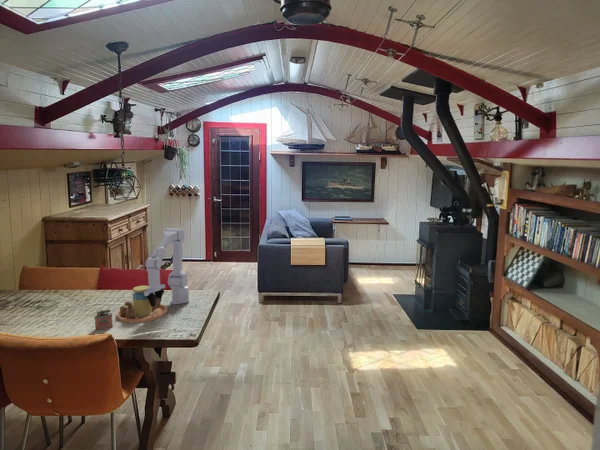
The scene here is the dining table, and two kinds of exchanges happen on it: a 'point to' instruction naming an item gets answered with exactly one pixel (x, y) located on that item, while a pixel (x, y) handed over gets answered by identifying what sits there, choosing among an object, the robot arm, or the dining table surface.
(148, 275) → the robot arm
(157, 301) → the bead
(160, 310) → the dish
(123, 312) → the seated bead
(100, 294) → the dining table surface
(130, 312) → the seated bead
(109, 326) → the lighter
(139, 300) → the jar
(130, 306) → the seated bead
